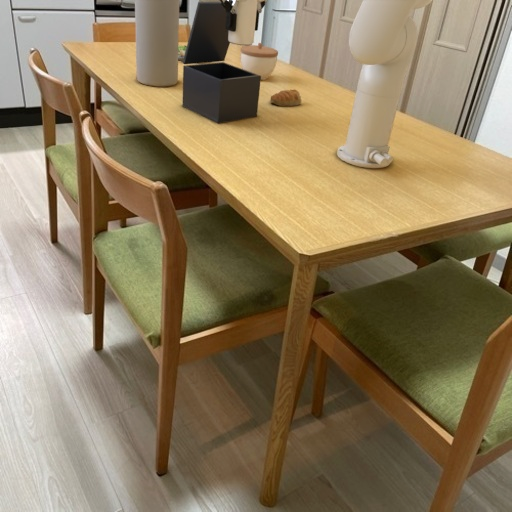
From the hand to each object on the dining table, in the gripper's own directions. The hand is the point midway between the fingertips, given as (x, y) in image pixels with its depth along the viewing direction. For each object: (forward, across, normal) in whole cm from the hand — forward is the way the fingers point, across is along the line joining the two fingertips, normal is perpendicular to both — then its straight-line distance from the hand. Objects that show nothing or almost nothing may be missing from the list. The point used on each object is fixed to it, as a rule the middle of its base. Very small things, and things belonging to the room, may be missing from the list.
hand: (241, 29), depth 128 cm
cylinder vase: (+22, -1, +36) cm, 42 cm away
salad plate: (+22, +30, +61) cm, 71 cm away
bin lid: (+3, -2, +9) cm, 10 cm away
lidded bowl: (+22, +35, +29) cm, 50 cm away
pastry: (+22, +22, +2) cm, 31 cm away
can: (+3, 0, 0) cm, 3 cm away
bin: (+22, -2, +4) cm, 22 cm away
